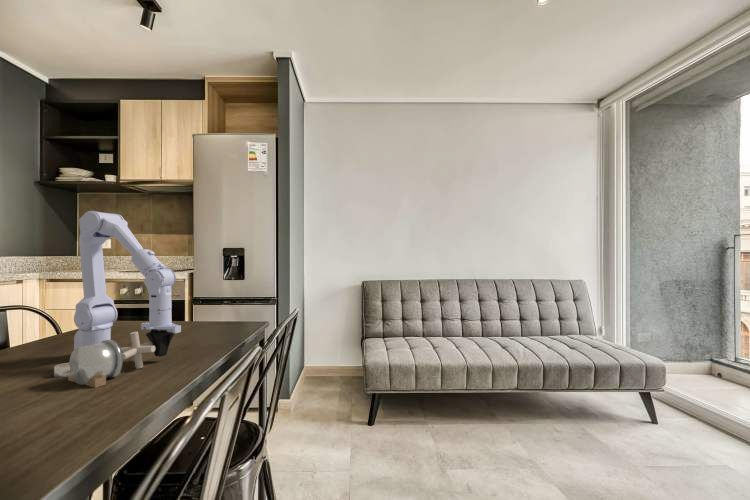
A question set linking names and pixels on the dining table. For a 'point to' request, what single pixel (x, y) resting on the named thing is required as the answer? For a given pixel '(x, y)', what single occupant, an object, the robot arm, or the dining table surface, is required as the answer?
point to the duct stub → (95, 363)
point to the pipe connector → (137, 350)
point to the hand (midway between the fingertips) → (160, 355)
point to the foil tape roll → (61, 370)
